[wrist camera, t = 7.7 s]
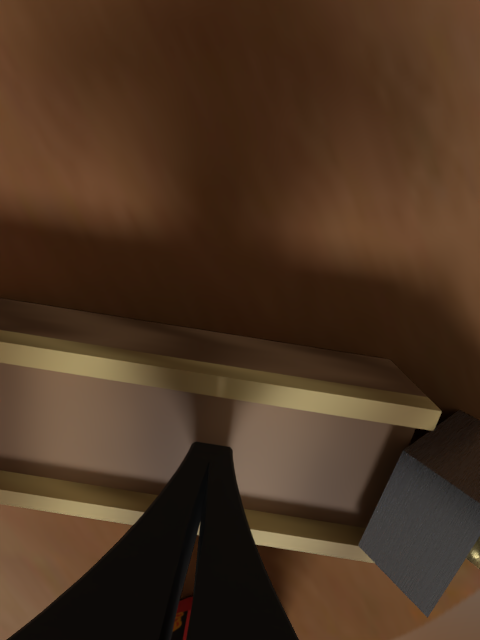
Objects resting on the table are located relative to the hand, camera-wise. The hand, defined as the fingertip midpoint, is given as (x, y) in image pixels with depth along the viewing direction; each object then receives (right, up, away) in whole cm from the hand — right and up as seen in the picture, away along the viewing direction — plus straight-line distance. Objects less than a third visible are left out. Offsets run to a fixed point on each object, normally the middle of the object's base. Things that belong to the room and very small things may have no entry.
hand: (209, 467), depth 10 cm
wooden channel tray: (-2, +2, +4) cm, 4 cm away
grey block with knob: (+8, -1, +2) cm, 9 cm away
